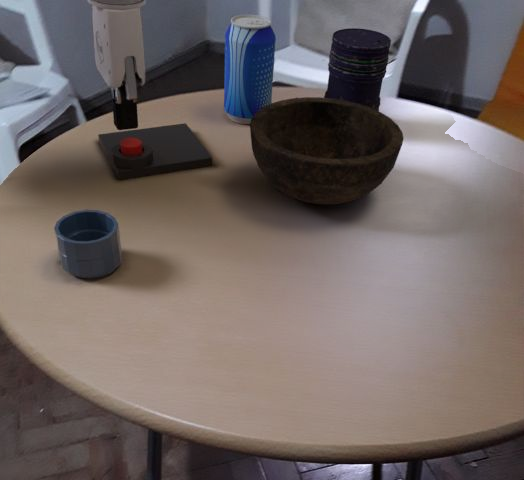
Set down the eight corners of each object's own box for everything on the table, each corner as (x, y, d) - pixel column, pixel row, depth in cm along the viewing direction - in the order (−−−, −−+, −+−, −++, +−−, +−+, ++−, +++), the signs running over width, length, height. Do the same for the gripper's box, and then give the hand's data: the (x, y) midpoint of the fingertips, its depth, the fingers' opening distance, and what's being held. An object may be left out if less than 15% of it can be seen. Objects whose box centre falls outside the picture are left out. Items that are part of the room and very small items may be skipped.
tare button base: (119, 180, 95) (116, 161, 93) (98, 142, 103) (96, 124, 101) (212, 165, 100) (212, 147, 98) (185, 130, 108) (185, 113, 106)
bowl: (276, 146, 106) (280, 86, 99) (402, 176, 101) (417, 115, 94) (224, 208, 91) (225, 142, 84) (370, 245, 86) (384, 179, 79)
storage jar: (312, 129, 111) (322, 39, 101) (332, 110, 118) (344, 24, 108) (365, 143, 109) (381, 52, 98) (382, 122, 115) (399, 35, 105)
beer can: (254, 130, 110) (259, 32, 99) (214, 117, 113) (215, 20, 102) (278, 115, 115) (286, 20, 104) (240, 102, 118) (243, 9, 107)
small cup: (68, 286, 76) (61, 248, 72) (56, 252, 81) (49, 215, 77) (128, 274, 78) (124, 236, 74) (114, 242, 83) (109, 205, 79)
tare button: (124, 158, 94) (123, 148, 93) (118, 148, 96) (117, 139, 95) (145, 155, 95) (144, 145, 94) (139, 146, 97) (138, 136, 96)
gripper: (74, -27, 84) (89, 109, 97) (100, 7, 74) (113, 152, 87) (129, -28, 87) (137, 104, 99) (161, 5, 77) (166, 146, 90)
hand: (126, 126), depth 93 cm, fingers closed
